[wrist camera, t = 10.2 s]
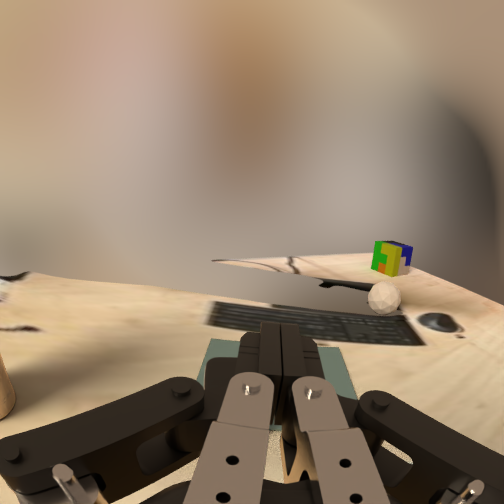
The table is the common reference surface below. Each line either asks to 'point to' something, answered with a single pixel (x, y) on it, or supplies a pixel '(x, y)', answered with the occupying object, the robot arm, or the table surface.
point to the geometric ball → (384, 298)
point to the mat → (328, 355)
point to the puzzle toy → (391, 258)
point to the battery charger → (219, 372)
